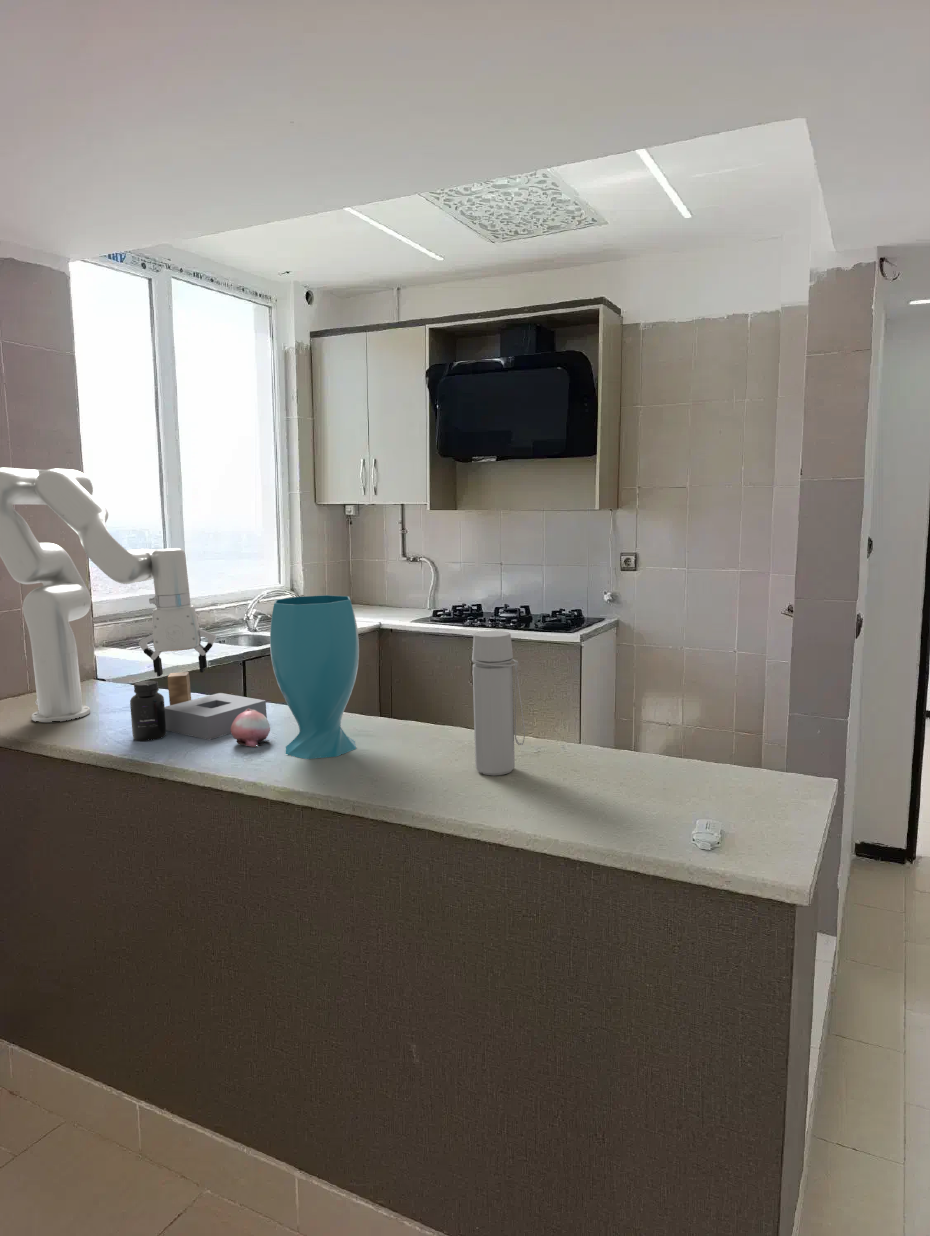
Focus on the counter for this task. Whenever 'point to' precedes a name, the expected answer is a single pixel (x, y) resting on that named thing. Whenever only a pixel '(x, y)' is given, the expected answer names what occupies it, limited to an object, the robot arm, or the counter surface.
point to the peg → (179, 687)
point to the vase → (316, 669)
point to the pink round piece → (250, 728)
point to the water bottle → (494, 702)
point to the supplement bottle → (147, 712)
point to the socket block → (209, 714)
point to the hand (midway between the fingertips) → (181, 673)
